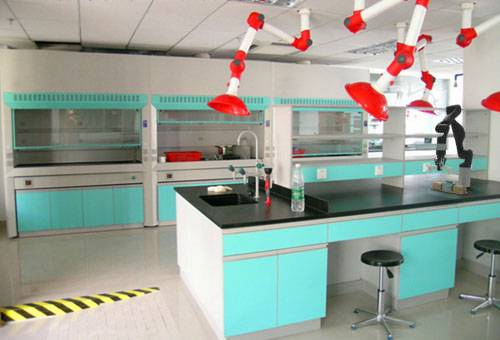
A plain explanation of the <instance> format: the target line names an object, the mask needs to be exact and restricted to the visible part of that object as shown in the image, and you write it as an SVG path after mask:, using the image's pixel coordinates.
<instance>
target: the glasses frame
mask: <svg viewBox="0 0 500 340" xmlns="http://www.w3.org/2000/svg"><path fill="white" fill-rule="evenodd" d="M433 169H436V170H437V165H433V164H428V165H427V172H433ZM440 169H443V170H442V171H447V175H452V174H454V173H453V172H454V167H450V166H440Z"/></svg>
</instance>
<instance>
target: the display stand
mask: <svg viewBox="0 0 500 340" xmlns="http://www.w3.org/2000/svg"><path fill="white" fill-rule="evenodd" d="M431 183H432V185H431V186H432V187H431V188H430V190H433V191H438V192H445V193H451V194H456V195H466V194H468V192H467V187H466V186H462V185H458V184H457V183H455V182H454V181H453V180H449V179H448V180H447V179H446V180H445V181H444V182H442V181H441V182H440V181H434V182H431Z"/></svg>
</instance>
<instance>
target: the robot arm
mask: <svg viewBox="0 0 500 340" xmlns="http://www.w3.org/2000/svg"><path fill="white" fill-rule="evenodd" d="M445 113H446V116H444V118H443V119H442V120H441V121H439V123H437V124H436V125H435V126H434V131H435V133H438V134H442V135H439V136H437V137H436V144H435V145H436V147H435V155H436V158H433V159H434V164H435V165H434V166H437V169H436V171H437V172H440V171H444V170H443V169H440V166H443V167H445V165H446V162H447V159H448V158H447V157H445V156H446V155H447V138H448V134H449V133H450V128H451V131H452V135H453V138H454V143H455V147H456V154H457V156H458V159H461V160H464V161H463V162H460V163H459V165H458V179H457V185H462V186H466V188H470V187H471V168H472V163H473V158H474V157H473V156H474V153H473V150H472V149H470V148H464V141H465V138H466V132H465V127H464V126H463V125H462V124H461V123H459V122H458V121H457V120H456V119H457V118H458V117H459V116H460V115H461V113H462V106H461V105H460V104H451V105H447V106H446V107H445Z"/></svg>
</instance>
